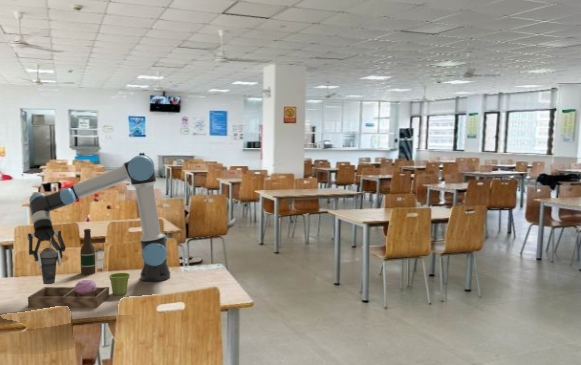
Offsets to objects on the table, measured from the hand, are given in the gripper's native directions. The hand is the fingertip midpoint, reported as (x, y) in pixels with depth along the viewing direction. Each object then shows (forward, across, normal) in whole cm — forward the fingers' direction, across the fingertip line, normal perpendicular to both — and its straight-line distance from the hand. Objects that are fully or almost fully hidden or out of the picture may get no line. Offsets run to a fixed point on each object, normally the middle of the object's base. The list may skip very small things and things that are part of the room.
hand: (50, 265), depth 211 cm
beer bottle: (-19, -26, -44) cm, 55 cm away
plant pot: (+13, -29, -12) cm, 34 cm away
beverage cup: (+4, 0, -9) cm, 9 cm away
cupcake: (+16, -13, -9) cm, 22 cm away
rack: (+13, -8, -11) cm, 19 cm away
